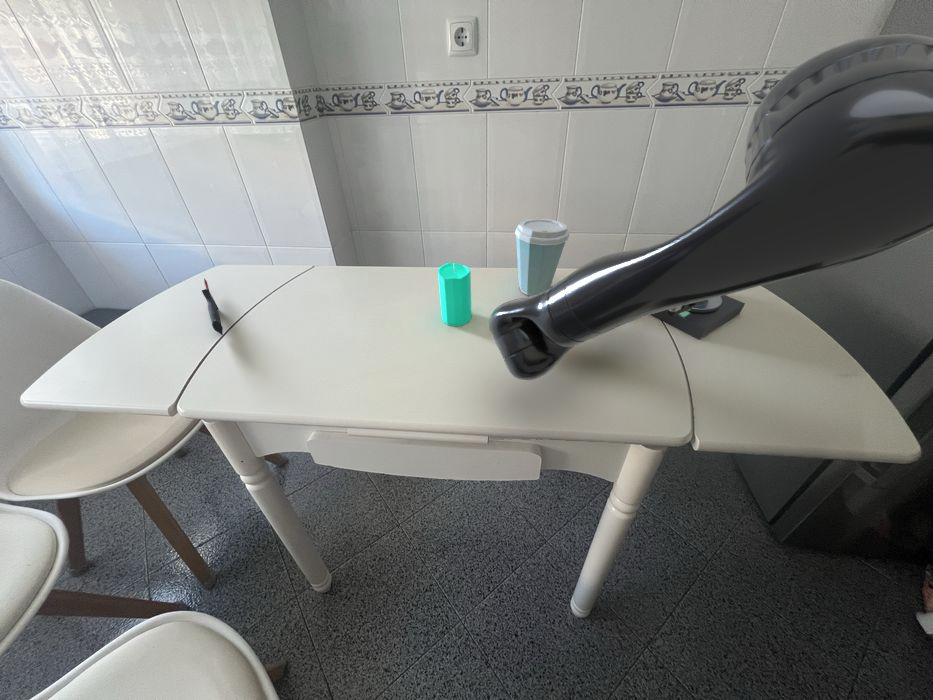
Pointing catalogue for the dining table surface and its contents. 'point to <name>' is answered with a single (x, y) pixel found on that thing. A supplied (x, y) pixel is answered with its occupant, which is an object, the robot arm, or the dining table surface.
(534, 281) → the disposable coffee cup
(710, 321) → the scale
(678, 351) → the dining table surface
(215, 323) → the knife
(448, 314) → the candle
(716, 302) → the scale pan
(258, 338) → the dining table surface
